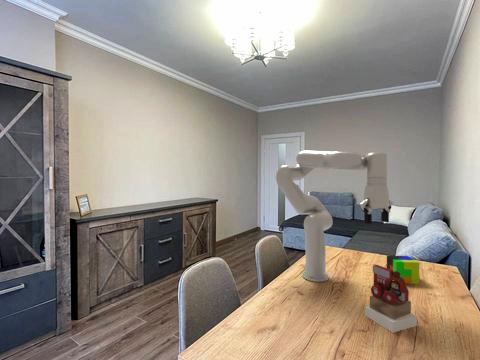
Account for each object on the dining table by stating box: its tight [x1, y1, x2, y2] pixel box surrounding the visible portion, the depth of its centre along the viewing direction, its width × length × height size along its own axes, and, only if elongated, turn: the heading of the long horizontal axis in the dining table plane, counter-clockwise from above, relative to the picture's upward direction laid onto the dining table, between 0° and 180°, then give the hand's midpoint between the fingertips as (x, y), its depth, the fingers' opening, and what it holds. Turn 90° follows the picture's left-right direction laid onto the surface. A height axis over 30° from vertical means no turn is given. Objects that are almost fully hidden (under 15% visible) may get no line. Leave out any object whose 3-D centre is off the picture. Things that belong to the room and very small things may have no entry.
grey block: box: [364, 305, 418, 334], centre depth 91 cm, size 11×11×4 cm
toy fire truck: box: [370, 264, 410, 304], centre depth 91 cm, size 7×12×10 cm, turn 24°
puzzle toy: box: [386, 255, 420, 285], centre depth 127 cm, size 10×10×10 cm
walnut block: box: [369, 294, 412, 320], centre depth 91 cm, size 9×9×4 cm
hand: (376, 222), depth 111 cm, fingers open, 9 cm apart
